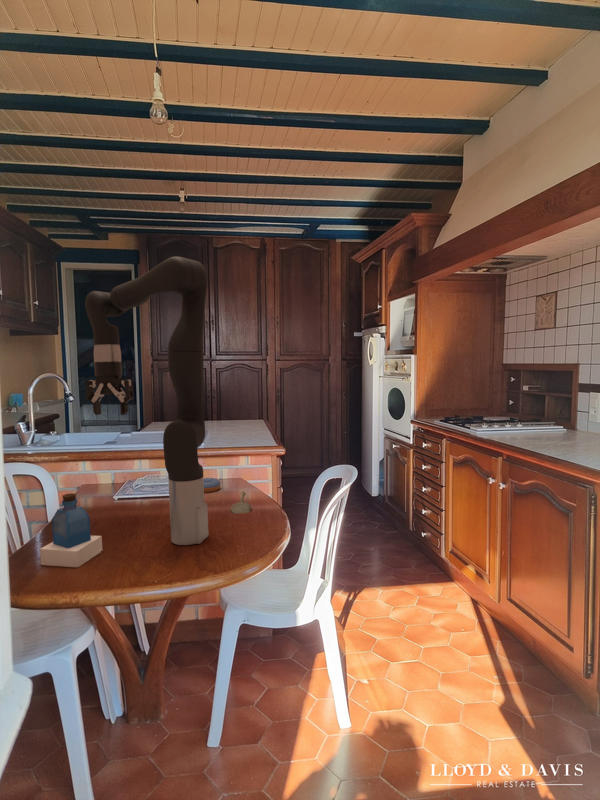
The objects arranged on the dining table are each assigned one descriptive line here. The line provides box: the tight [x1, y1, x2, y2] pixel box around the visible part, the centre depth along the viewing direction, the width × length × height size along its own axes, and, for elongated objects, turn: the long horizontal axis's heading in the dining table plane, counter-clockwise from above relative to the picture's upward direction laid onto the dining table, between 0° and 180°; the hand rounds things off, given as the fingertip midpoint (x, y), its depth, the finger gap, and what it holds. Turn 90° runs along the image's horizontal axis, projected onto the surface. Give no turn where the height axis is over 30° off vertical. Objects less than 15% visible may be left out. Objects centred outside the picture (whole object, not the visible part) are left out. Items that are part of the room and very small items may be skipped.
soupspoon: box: [230, 490, 252, 514], centre depth 166 cm, size 22×3×7 cm
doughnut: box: [203, 477, 221, 494], centre depth 184 cm, size 10×10×5 cm
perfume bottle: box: [51, 492, 92, 548], centre depth 122 cm, size 6×6×12 cm
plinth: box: [39, 535, 103, 568], centre depth 123 cm, size 10×10×4 cm
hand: (110, 414), depth 146 cm, fingers open, 8 cm apart
